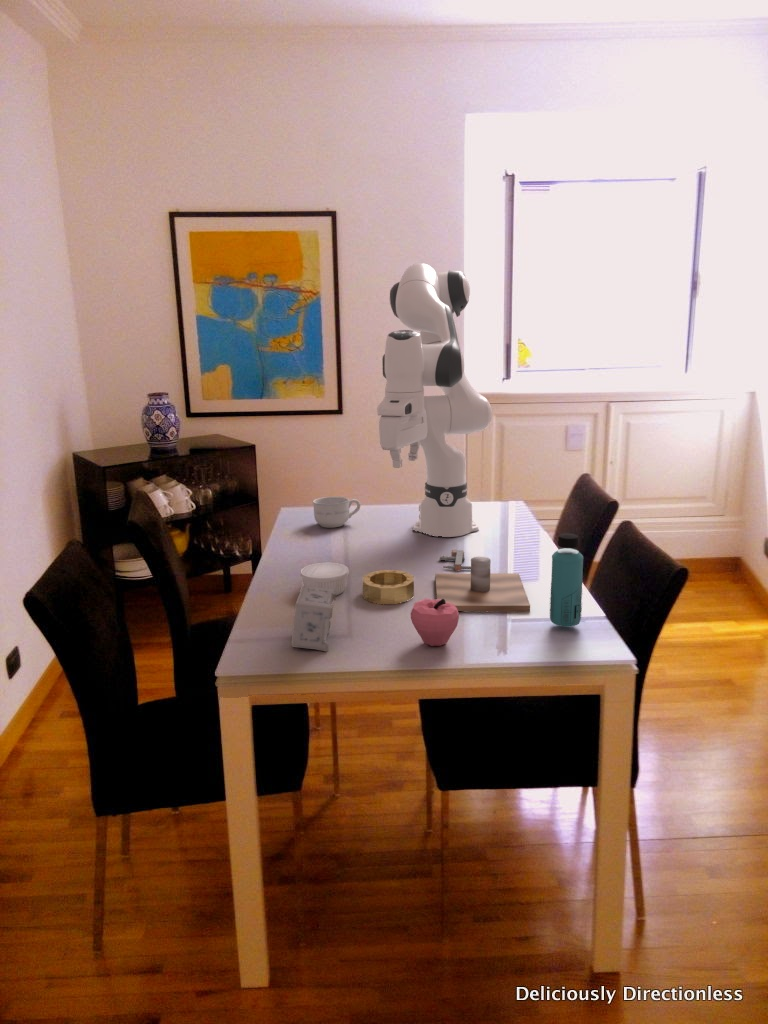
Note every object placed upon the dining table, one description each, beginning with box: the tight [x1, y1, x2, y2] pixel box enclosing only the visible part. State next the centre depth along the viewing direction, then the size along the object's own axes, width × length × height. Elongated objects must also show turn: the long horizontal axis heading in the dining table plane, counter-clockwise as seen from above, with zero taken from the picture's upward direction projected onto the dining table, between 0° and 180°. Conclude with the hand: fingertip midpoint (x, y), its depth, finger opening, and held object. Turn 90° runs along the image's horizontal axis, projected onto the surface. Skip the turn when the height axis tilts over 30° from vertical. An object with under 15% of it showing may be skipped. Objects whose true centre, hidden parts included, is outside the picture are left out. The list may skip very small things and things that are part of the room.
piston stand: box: [434, 556, 531, 613], centre depth 184 cm, size 20×20×8 cm
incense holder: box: [290, 585, 337, 652], centre depth 161 cm, size 10×8×10 cm
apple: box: [410, 598, 460, 647], centre depth 159 cm, size 10×9×10 cm
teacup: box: [312, 496, 361, 529], centre depth 239 cm, size 14×11×8 cm
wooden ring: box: [362, 569, 415, 606], centre depth 185 cm, size 12×12×4 cm
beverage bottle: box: [549, 532, 584, 627], centre depth 164 cm, size 6×7×20 cm
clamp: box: [439, 549, 471, 571], centre depth 204 cm, size 15×2×10 cm
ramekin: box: [299, 561, 350, 596], centre depth 189 cm, size 11×11×5 cm
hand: (405, 463), depth 187 cm, fingers open, 8 cm apart
